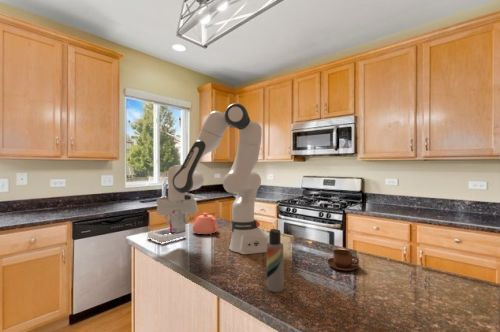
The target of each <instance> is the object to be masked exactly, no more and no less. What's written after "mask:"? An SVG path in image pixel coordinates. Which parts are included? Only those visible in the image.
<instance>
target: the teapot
mask: <svg viewBox="0 0 500 332" xmlns="http://www.w3.org/2000/svg"><path fill="white" fill-rule="evenodd" d="M192 215H193V225H192V232H193V233H194V232H195V233H197V234H210V235H213V234H212V233H214V234H215V232H216V233H217V232H218V230H219V226H218V221H217V219H216V218H215V217H214V216H213V215H212V214H209V213H208V212H202V214H201V215H197V213H196V214H192ZM195 233H194V234H195ZM197 234H196V235H197Z"/></svg>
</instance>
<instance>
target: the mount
mask: <svg viewBox="0 0 500 332" xmlns="http://www.w3.org/2000/svg"><path fill="white" fill-rule="evenodd" d="M169 233H170V227H167V228H162V229H158V230H152V231H148V232H147V238H148V237H149V238H152V239H154V240H157V241H159V242H161V243H162V242H166V241H170V240H173V239H176V238H180V237H184V236H186V235H187V232H186V231H185V232H182V233H179V234H175V233H171V234H169ZM164 234H167V235H164ZM186 237H187V236H186Z"/></svg>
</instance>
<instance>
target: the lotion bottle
mask: <svg viewBox="0 0 500 332" xmlns="http://www.w3.org/2000/svg"><path fill="white" fill-rule="evenodd" d="M281 234H282V233H281V230H280V229H276V228H271V229H270V230H269V233H268V237H269V243H267V252H266V288H267V291H269V292H272V293H273V292H274V293H279V292H282V291H283V290H284V288H285V287H284V284H285V281H284V280H285V279H284V278H285V277H284V276H285V274H284V269H285V267H284V265H285V264H284V244H283V243H282V242H281Z"/></svg>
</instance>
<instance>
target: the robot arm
mask: <svg viewBox="0 0 500 332" xmlns="http://www.w3.org/2000/svg"><path fill="white" fill-rule="evenodd" d="M228 128H232V129H233V128H234V129H238V131H239V138H238V144H237V150H236V154H235V155H236V156H235V158H234V161H233V164H231V165H232V166H231V168H230V169H229V172H228V173H227V174H225V176H224V177H223V179H222V187H223V188H224V190H225V191H226V192H227V193H229V194H234V195H236V197H235V199H234V201H233V203H232V205H231V206H232V207H231V209H232V210H231V211H232V214H231V215H232V217H231V218H232V219H231V223H230V224H231V225H230V226H231V228H230V229H231V237H230V238H231V240H230V242H229V243H230V244H229V250H230V251H232V252H233V253H234V252H235V253H238V254H242V255H249V254H250V255H251V254H260V253H267V243H269V234H267V233H266V232H265V231H264V230H263V229H261V228H260V225H261V224H260V222H259V221H258V220H256V219H255V203H256V202H255V201H256V197H257V194H258V190H259V188H260V187H261V184H262V178H261V175H260V174H259V173H257V172H256V171H253V168H254V166H256V164H257V163H258V161H259V155H260V149H261V144H262V137H263V136H262V135H263V133H262V126H261V124H259V123H258V122H256V121H253V120H251V118H250V116H249V112H248V110H247V108H246V107H245V106H244V105H242V104H241V103H238V102H237V103H232V104H229V105H228V106H227V108H226V109H225V111H224V112H221V111H219V110H213V111H211V112H210V113H209V114H208V115H207V117H206V119H205V120H204V123H203V124H202V127H201V129H200V131H199V134H198V136H197V138H196V139H195V141H194V142H193V144H192V145H191V148H190V149H189V151H188V153H187V155H186V157H185V159H184V161H183V163H182V164H174V165H171V166H169V168H168V172H167V185H168V188H167V196H159V197H158V198H157V199H156V205H157V207H156V214H157V215H158V216H164V219H165V220H166V224H167V225H168V224H169V225H170V218H168V217H169V216H170V215H172V213H173V211H181V214H185V215H186V217H187V218H185V223H186V224H188V223H189V218H190V217H191V215H193V214H196V215H197V213H198V202H197V200H196V199H195V198H196V195H195V194H193V193H190V192H191V191H194V190H195V191H196V190H198V189H200V188H201V187H202V186H203V184H204V176H203V174H202V173H201V172H200V171H196V170H197V168H198V165H199V164H200V161H201V160H202V158H204V156H205V155H207V154H210V152H213V151H215V150H217V149H218V147H219V145H220V144H221V141H222V139H223V136H224V134H225V133H226V130H227V129H228Z"/></svg>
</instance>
